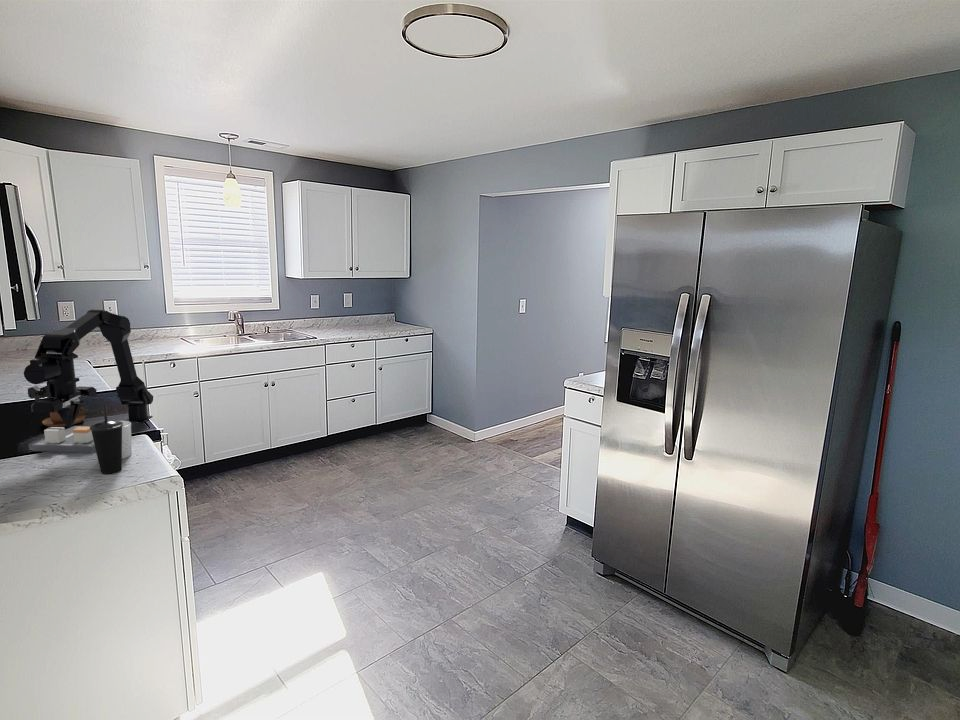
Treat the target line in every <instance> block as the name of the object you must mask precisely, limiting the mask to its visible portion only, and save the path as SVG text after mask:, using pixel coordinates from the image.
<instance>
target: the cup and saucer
mask: <svg viewBox="0 0 960 720" xmlns="http://www.w3.org/2000/svg"><path fill="white" fill-rule="evenodd" d="M80 410H82V411H81V412H80V413H78V414H77V416H76V418H75V420H74V422H73V425H72V426H75V425H76V424H79V423H82V422H83V421H84V420H85V419H86V415H84V414H85V411H86V410H85V407H82V406H81V408H80ZM49 415H50V417H47V418H45V419H43V420H42V421H41V424H42V425H44V426H46V427H48V428H51V427H64V428H65V427H66V425H65V424H64V422H63V420H62V419H61V417H60V415H59V414H58V413H57V412H52V413H49Z"/></svg>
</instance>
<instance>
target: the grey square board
mask: <svg viewBox="0 0 960 720" xmlns="http://www.w3.org/2000/svg"><path fill="white" fill-rule="evenodd" d="M90 426H91V425H90ZM90 426H89V425H88V426H86V425H85V426H84V425H72V426H71V427H67V428H65V435H66V440H64V441H62V442H60V443H46V442H45V438H44V439H41V440H39V441H37V442H35V443H32V444H31V450H32V452H47V453H49V452H52V453H54V452H55V453H87V454H90V453H91V454H93V453H96V449H95V444H94V440H92V441H90V442H88V443H76V442H74V436H73V429H76V428H78V427H90Z"/></svg>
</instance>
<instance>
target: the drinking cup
mask: <svg viewBox="0 0 960 720" xmlns="http://www.w3.org/2000/svg"><path fill="white" fill-rule="evenodd" d="M102 407H103V408H102V410H103V411H102V412H103V417H104V418H103V420H101V421H98V422H96V423H93V424H92V425H90V430H91V431H92V436H93V440H94V444H95V449H96V451H95V453H96V458H97V461H98V465H99V470H100V473H101V474H102V475H107V476H108V475H114V474H115V475H116V474H118V473H120V472H121V471H122V467H123V466H122V464H123V463H122V461H123V459H122V426H123V423H122V422H120V421H121V420H116V419H115V420H114V419H108V412H107V402H103V403H102Z"/></svg>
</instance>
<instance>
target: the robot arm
mask: <svg viewBox="0 0 960 720" xmlns="http://www.w3.org/2000/svg"><path fill="white" fill-rule="evenodd" d="M96 328H98V329H99V330H100V333H101V335H102V336H103V337H104V338H105V339H106V340H107V341H108V342H109V343H110V346H111V349H112V353H113V358H114V360H115V365H116V367H117V371H118V375H119V378H120V381H119V383H118V385H117V386H116V387H115V390H116V392H117V398H119V400H120V404H121V405H125V406H126V405H127V413H128V414H127V415H128V418H126V420H125V419H124V421H129V422H131V423H144V422H146V421H148V420H150V419H152V418H153V415H149V409H148V408H149V407H148V405H151V404H152V403H153V402H154V395H153V394H151V392H150V391H149V390H148V388H147V386H146V385H145V382H144V380H142V379H141V378H140V377H139V376H138V374H137V371H136V368H135V364H134V359H133V356H132V352H131V347H130V344H129V341H128V338H129V336H130V335H131V333H132V329H131V321H130V320H129V318H128V317H127V316H124V315H119V314H116V313H112V312H110V311H108V310H105V309H89V310H87V312H86V313H85V314H84V315H82V316H81V317H80V318H78V319H76V320H75V321H74V322H72V323H71V324H69V325H68V326H66V327H65V328H61V329H57V330H53V331H51V332H48V333H45V334H44V335H43V336H42V338H41V341H40V343H39V346H38V348H37V351H36V353H35V355H34V358H32V359H29V364H28V365H26V367H25V369H24V371H23V376H24V378H25V380H26V381H27V382H29V383H30V384H33V385H34V386H31V387H28V388H27V395H28V397H29V399H34V402H32V404H31V405H30V406H31V412H32V413H46V414H47V413H49V414H50V413H52V412H57V413H58V414H59V415H60V417H61V419H62V420H63V422H64V424H65V425H66V426H65V427H67V428H71V427H73V426H74V425H73V422H74V420H75V418H76V416H77V414H79V412H80V410H81V409H80V408H81V407H82V406H83V404H84V403H85V401H84V400H80V398H81V397H83V396H87V397H88V398H91V399H92V398H94V397H96V396H97V395H98V393H97V392H98V391H97V389H96V388H95V386H82V385H81V386H77V383H78V382H80V377H76V369H75V363H74V360H75V359H78V358H79V355H78V354H76V353H74V352H75V351H76V349H78V347H79V346H80V344H81V343H80V342H81V339H83V338H84V337H85V336H87V335H88V334H90V333H91V332H93V331H95V329H96ZM43 383H46V385H45V386H42V387H39V386H38V385H40V384H43Z"/></svg>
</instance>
